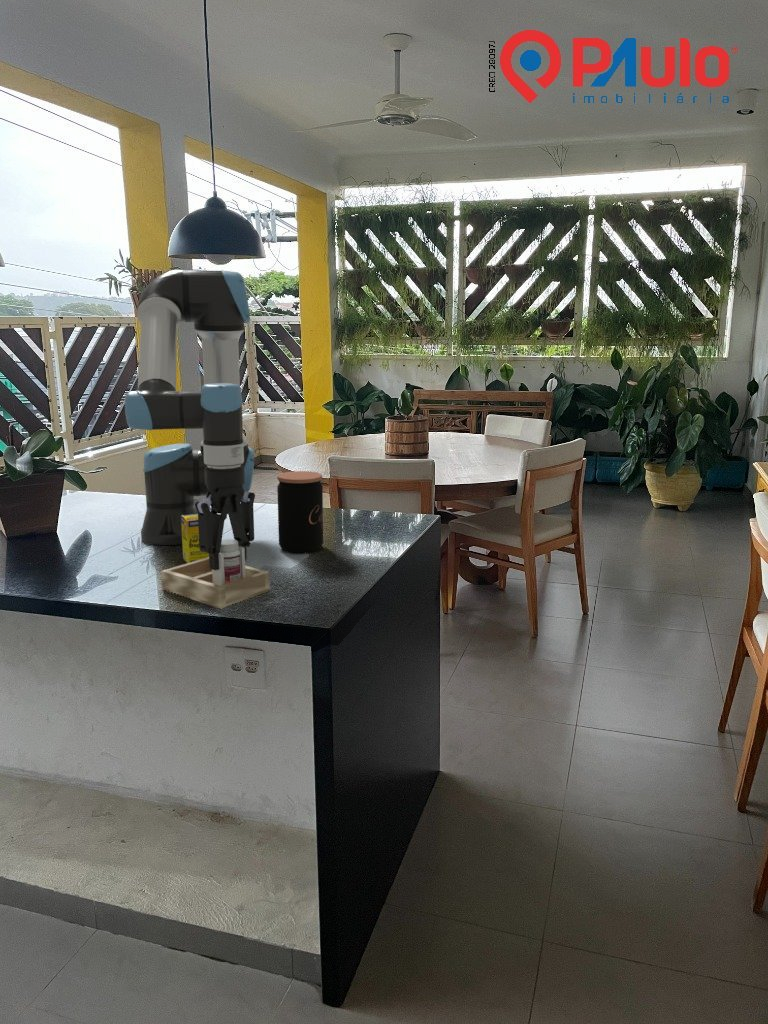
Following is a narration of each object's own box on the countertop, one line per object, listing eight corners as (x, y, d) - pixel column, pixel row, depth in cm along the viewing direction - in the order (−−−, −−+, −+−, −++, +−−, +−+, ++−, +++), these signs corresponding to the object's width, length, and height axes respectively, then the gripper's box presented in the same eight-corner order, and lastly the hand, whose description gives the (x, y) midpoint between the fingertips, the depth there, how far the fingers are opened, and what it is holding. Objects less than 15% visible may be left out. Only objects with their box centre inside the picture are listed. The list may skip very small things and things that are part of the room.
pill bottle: (218, 578, 154) (216, 538, 152) (242, 578, 154) (241, 538, 152) (215, 586, 149) (213, 545, 147) (240, 586, 149) (238, 544, 147)
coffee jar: (316, 555, 178) (315, 480, 174) (272, 553, 180) (270, 478, 176) (328, 543, 188) (327, 472, 184) (287, 541, 191) (285, 470, 186)
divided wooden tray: (162, 589, 155) (161, 571, 154) (211, 573, 165) (210, 556, 164) (221, 608, 144) (220, 588, 144) (269, 590, 155) (269, 572, 154)
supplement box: (189, 568, 168) (186, 520, 166) (182, 561, 173) (180, 514, 171) (215, 565, 171) (213, 517, 168) (208, 557, 176) (206, 512, 174)
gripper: (201, 474, 137) (207, 596, 142) (271, 461, 151) (274, 573, 156) (174, 469, 141) (181, 588, 147) (245, 457, 155) (249, 566, 161)
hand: (229, 580), depth 151 cm, fingers closed on pill bottle, 5 cm apart
